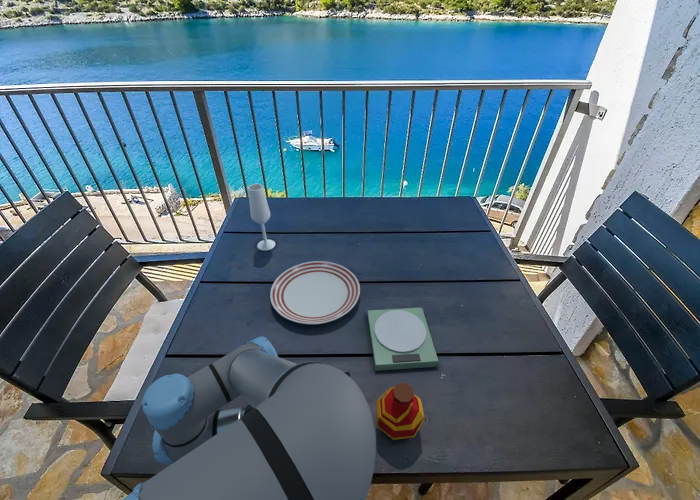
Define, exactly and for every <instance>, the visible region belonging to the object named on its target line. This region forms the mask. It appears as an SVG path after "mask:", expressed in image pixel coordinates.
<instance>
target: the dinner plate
mask: <svg viewBox="0 0 700 500" xmlns="http://www.w3.org/2000/svg"><path fill="white" fill-rule="evenodd" d="M269 292H270V293H269V298H270V302H271V305H272V307H273V309H274V310H275V311H276V312H277V313H278V315H279V316H281V317H283V318H284V319H286V320H288V321H291V322H294V323H297V324H301V325H322V324H326V323H327V324H328V323H330V322H331V323H332V322H334V321H336V320H338V319H340V318H342V317H343V316H345V315H346V314H348V313H349V312H350V311H352V310H353V308H354V307H355V306H356V304H357V303H358V301H359V298H360V295H361V286H360V281H359V280H358V278H357V276H356V275H355V274H354V273H353V272H352V271H350V269H348V268H347V267H345V266H343V265H341V264H338V263H334V262H330V261H324V260H321V261H320V260H316V261H314V260H313V261H306V262H303V263H299V264H296V265H294V266H291V267H289V268H287V269H286V270H285V271H283V272H282V273H280V274H279V276H278V277H277V278H276V279H275V280H274V282H273V283H272V285H271V287H270V291H269Z"/></svg>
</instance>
